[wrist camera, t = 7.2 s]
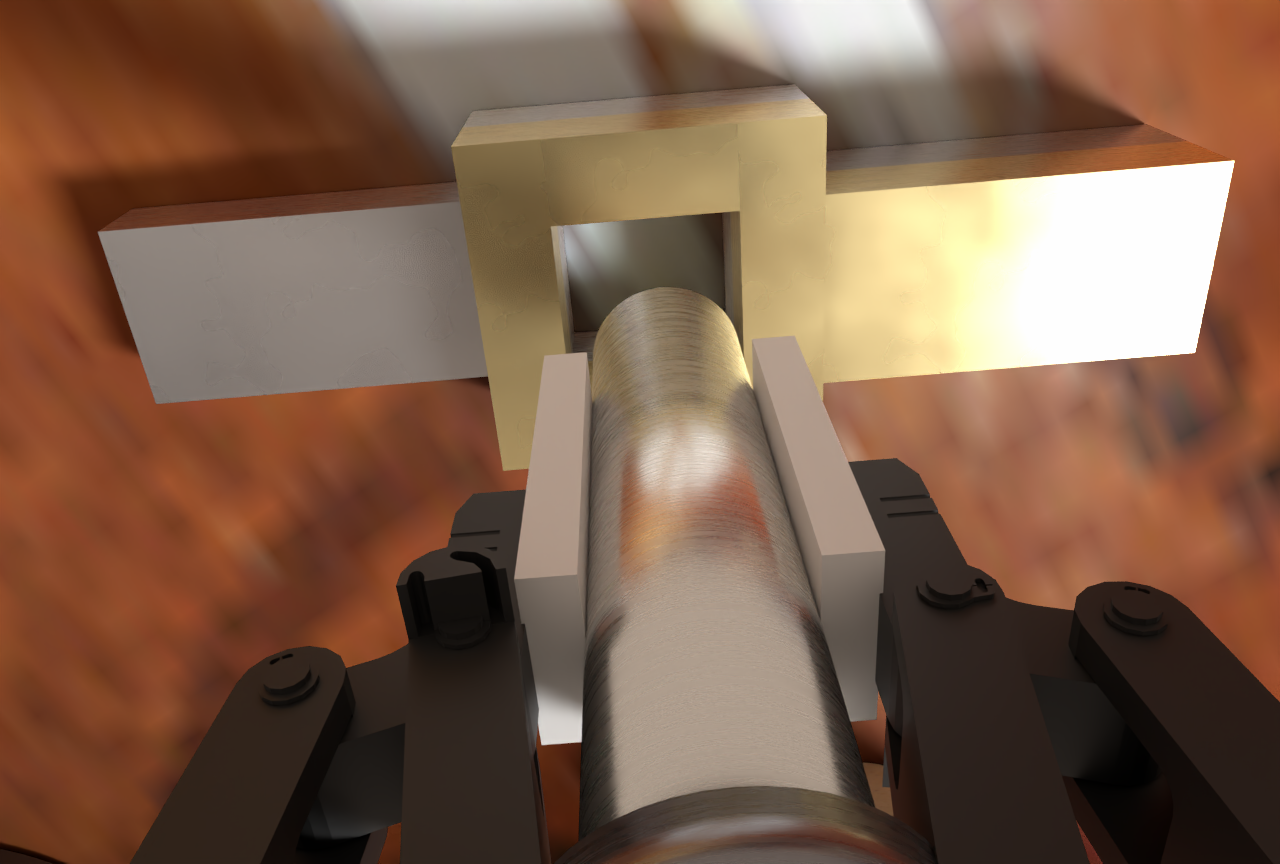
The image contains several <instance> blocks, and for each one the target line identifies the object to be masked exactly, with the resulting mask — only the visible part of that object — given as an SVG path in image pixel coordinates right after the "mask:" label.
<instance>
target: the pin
mask: <svg viewBox="0 0 1280 864" xmlns="http://www.w3.org/2000/svg"><path fill="white" fill-rule="evenodd" d="M554 864H937V862H936V858H935V853H934V849H933V846H932V845H931V844H930V843H929V842H928V841H927V840H926V839H925V838H924V837H923V836H922V835H920V834H919V833H918V832H916V831H915V830H914V829H912V828H911V827H910V826H908V825H907V824H906V823H904V822H902V821H900V820H899V819H897V818H895V817H893V816H891V815H890V814H888V813H886V812H884V811H882V810H879V809H877V808H876V807H875V804H874V800H873V797H872V794H871V790H870V787H869V783H868V780H867V777H866V773H865V770H864V766H863V763H862V760H861V756H860V753H859V749H858V746H857V742H856V739H855V736H854V732H853V729H852V725H851V722H850V719H849V715H848V712H847V708H846V705H845V702H844V698H843V695H842V691H841V688H840V685H839V681H838V678H837V674H836V671H835V668H834V664H833V661H832V657H831V654H830V651H829V647H828V644H827V640H826V637H825V634H824V630H823V627H822V623H821V620H820V616H819V613H818V610H817V606H816V603H815V599H814V596H813V593H812V589H811V586H810V582H809V579H808V576H807V572H806V569H805V565H804V562H803V559H802V555H801V552H800V548H799V545H798V542H797V538H796V535H795V531H794V528H793V525H792V521H791V518H790V514H789V511H788V508H787V504H786V501H785V497H784V494H783V490H782V487H781V484H780V480H779V477H778V473H777V470H776V467H775V463H774V460H773V456H772V453H771V450H770V446H769V443H768V439H767V436H766V433H765V429H764V426H763V422H762V419H761V416H760V412H759V409H758V405H757V402H756V399H755V395H754V392H753V388H752V385H751V382H750V378H749V375H748V371H747V368H746V364H745V361H744V358H743V354H742V351H741V347H740V344H739V341H738V337H737V334H736V331H735V329H734V326H733V324H732V323H731V321H730V319H729V317H728V316H727V315H726V314H725V312H724V311H723V310H722V309H721V308H720V307H719V306H718V305H717V304H716V303H714V302H713V301H712V300H710V299H709V298H707V297H705V296H703V295H701V294H699V293H697V292H694V291H691V290H687V289H683V288H676V287H660V288H653V289H649V290H645V291H642V292H639V293H637V294H634V295H632V296H631V297H629V298H627V299H625V300H624V301H622V302H621V303H620V304H618V305H617V306H616V307H615V308H614V309H613V310H612V311H611V312H610V313H609V314H608V316H607V317H606V318H605V320H604V321H603V323H602V325H601V326H600V328H599V331H598V333H597V336H596V339H595V343H594V350H593V375H592V433H591V468H590V503H589V538H588V573H587V608H586V641H585V649H584V675H583V708H582V741H581V775H580V808H579V841H578V843H576V844H575V845H574V846H572V847H571V848H570V849H568V850H567V851H566V852H565V853H564V854H563V855H562V856H561V857H560V858H559V859H558V860H557V861H556V862H555V863H554Z"/></svg>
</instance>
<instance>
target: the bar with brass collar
mask: <svg viewBox="0 0 1280 864" xmlns="http://www.w3.org/2000/svg"><path fill="white" fill-rule="evenodd" d="M826 146H827V115H826V114H825V113H824V112H823V111H822V110H821V109H820V108H819V107H818V106H817V105H816V104H815V103H814V102H813V101H811V100H810V99H809V98H808V97H807V96H806V95H805V94H804V93H803V92H802V91H801V90H800V89H799V88H798V87H797V86H796V85H795V84H791V85H779V86H767V87H755V88H743V89H731V90H719V91H707V92H695V93H683V94H671V95H659V96H647V97H635V98H623V99H611V100H599V101H587V102H575V103H563V104H551V105H539V106H527V107H515V108H503V109H491V110H479V111H472V112H471V114H470V116H469V117H468V119H467V121H466V122H465V124H464V126H463V127H462V129H461V131H460V133H459V134H458V136H457V138H456V139H455V141H454V143H453V144H452V146H451V149H452V156H453V162H454V168H455V174H456V180H457V182H448V183H436V184H424V185H412V186H399V187H387V188H375V189H363V190H351V191H339V192H327V193H315V194H303V195H291V196H279V197H267V198H255V199H243V200H231V201H219V202H207V203H195V204H183V205H171V206H159V207H147V208H135V209H131V210H130V211H128V212H127V213H125V214H124V215H122V216H121V217H119V218H118V219H116V220H115V221H113V222H112V223H110V224H109V225H107V226H106V227H104V228H103V229H101V230H100V231H98V234H99V237H100V240H101V243H102V246H103V249H104V252H105V255H106V258H107V261H108V264H109V267H110V270H111V273H112V276H113V278H114V281H115V284H116V287H117V290H118V293H119V296H120V299H121V302H122V305H123V308H124V311H125V314H126V317H127V320H128V323H129V325H130V328H131V331H132V334H133V337H134V340H135V343H136V346H137V349H138V352H139V355H140V358H141V361H142V364H143V367H144V370H145V372H146V375H147V378H148V381H149V384H150V387H151V390H152V393H153V396H154V399H155V402H156V404H160V403H172V402H185V401H197V400H209V399H221V398H233V397H245V396H257V395H269V394H282V393H294V392H306V391H318V390H330V389H342V388H354V387H366V386H378V385H391V384H403V383H415V382H427V381H439V380H451V379H463V378H475V377H488V379H489V385H490V391H491V397H492V403H493V410H494V416H495V422H496V428H497V434H498V441H499V447H500V453H501V459H502V465H503V471H505V470H517V469H529V465H530V458H531V451H532V443H533V436H534V428H535V421H536V414H537V406H538V399H539V391H540V384H541V377H542V369H543V362H544V356H546V355H558V354H571V353H583V352H587V358H588V367H589V377H590V386H591V395H592V375H593V350H594V343H595V339H596V336H597V333H598V331H589V332H577V333H575V332H574V323H573V314H572V305H571V297H570V288H569V279H568V270H567V261H566V253H565V244H564V235H563V226H564V225H576V224H588V223H600V222H612V221H624V220H636V219H648V218H660V217H672V216H684V215H696V214H708V213H720V212H722V220H723V248H724V276H725V304H726V315H727V316H728V317H729V319H730V321H731V323H732V324H733V326H734V329H735V331H736V334H737V337H738V341H739V344H740V347H741V351H742V354H743V358H744V361H745V364H746V368H747V371H748V375H749V378H750V382H751V385H752V388H753V364H752V339H759V338H771V337H784V336H795V338H796V340H797V342H798V345H799V347H800V350H801V352H802V354H803V357H804V359H805V361H806V364H807V366H808V368H809V371H810V373H811V376H812V378H813V380H814V383H815V385H816V387H817V390H818V392H819V395H820V397H821V399H822V402H823V383H831V382H843V381H855V380H867V379H879V378H891V377H903V376H916V375H928V374H940V373H952V372H964V371H976V370H988V369H1001V368H1013V367H1025V366H1037V365H1049V364H1061V363H1073V362H1085V361H1098V360H1110V359H1122V358H1134V357H1146V356H1158V355H1170V354H1183V353H1195V349H1196V344H1197V339H1198V335H1199V330H1200V325H1201V320H1202V315H1203V310H1204V306H1205V301H1206V296H1207V291H1208V286H1209V281H1210V276H1211V272H1212V267H1213V262H1214V257H1215V252H1216V247H1217V243H1218V238H1219V233H1220V228H1221V223H1222V218H1223V214H1224V209H1225V204H1226V199H1227V194H1228V189H1229V184H1230V180H1231V175H1232V170H1233V165H1234V160H1231V159H1229V158H1226V157H1224V156H1222V155H1219V154H1217V153H1214V152H1212V151H1210V150H1207V149H1205V148H1202V147H1200V146H1198V145H1195V144H1193V143H1190V142H1188V141H1186V140H1183V139H1181V138H1178V137H1176V136H1174V135H1171V134H1169V133H1166V132H1164V131H1161V130H1159V129H1157V128H1154V127H1152V126H1149V125H1147V124H1144V125H1132V126H1120V127H1108V128H1096V129H1084V130H1072V131H1060V132H1048V133H1036V134H1024V135H1012V136H1000V137H988V138H976V139H964V140H952V141H940V142H928V143H916V144H904V145H892V146H880V147H868V148H856V149H844V150H832V151H826Z"/></svg>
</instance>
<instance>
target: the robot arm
mask: <svg viewBox="0 0 1280 864" xmlns="http://www.w3.org/2000/svg"><path fill="white" fill-rule="evenodd" d="M752 364H753V392H754V395H755V399H756V402H757V405H758V409H759V412H760V416H761V419H762V422H763V426H764V429H765V433H766V436H767V439H768V443H769V446H770V450H771V453H772V456H773V460H774V463H775V467H776V470H777V473H778V477H779V480H780V484H781V487H782V490H783V494H784V497H785V501H786V504H787V508H788V511H789V514H790V518H791V521H792V525H793V528H794V531H795V535H796V538H797V542H798V545H799V548H800V552H801V555H802V559H803V562H804V565H805V569H806V572H807V576H808V579H809V582H810V586H811V589H812V593H813V596H814V599H815V603H816V606H817V610H818V613H819V616H820V620H821V623H822V627H823V630H824V634H825V637H826V640H827V644H828V647H829V651H830V654H831V657H832V661H833V664H834V668H835V671H836V674H837V678H838V681H839V685H840V688H841V691H842V695H843V698H844V702H845V705H846V708H847V712H848V715H849V719H850V722H851V721H864V720H876V719H877V700H878V691H879V694H880V697H881V700H882V703H883V706H884V709H885V712H886V732H885V749H884V766H883V783H882V787H890V791H891V799H892V807H893V815H894V817H895V818H897V819H899V820H900V821H902V822H904V823H906V824H907V825H908V826H910V827H911V828H912V829H914V830H915V831H916V832H918V833H919V834H920V835H922V836H923V837H924V838H925V839H926V840H927V841H928V842H929V843H930V844H931V845H932V846H933V849H934V853H935V858H936V862H937V864H1090V863H1089V860H1088V857H1087V854H1086V851H1085V847H1084V844H1083V841H1082V838H1081V835H1080V832H1079V828H1078V825H1077V822H1078V824H1079V825H1080V827H1081V829H1082V830H1083V832H1084V833H1085V835H1086V837H1087V838H1088V840H1089V841H1090V843H1091V845H1092V846H1093V848H1094V849H1095V851H1096V853H1097V854H1098V856H1099V857H1100V859H1101V861H1102V862H1103V864H1280V702H1279V701H1278V700H1277V699H1276V698H1275V697H1274V696H1273V695H1272V694H1271V693H1270V692H1269V691H1268V690H1267V689H1266V688H1265V687H1264V686H1263V685H1262V684H1261V682H1260V681H1259V680H1258V679H1257V678H1256V677H1255V676H1254V675H1253V674H1252V673H1251V672H1250V671H1249V670H1248V669H1247V668H1246V667H1245V666H1244V665H1243V664H1242V663H1241V662H1240V661H1239V660H1238V659H1237V658H1236V657H1235V656H1234V655H1233V654H1232V653H1231V651H1230V650H1229V649H1228V648H1227V647H1226V646H1225V645H1224V644H1223V643H1222V642H1221V641H1220V640H1219V639H1218V638H1217V637H1216V636H1215V635H1214V634H1213V633H1212V632H1211V631H1210V630H1209V629H1208V628H1207V627H1206V626H1205V625H1204V624H1203V623H1202V622H1201V620H1200V619H1199V618H1198V617H1197V616H1196V615H1195V614H1194V613H1193V612H1192V611H1191V610H1190V609H1189V608H1188V607H1186V606H1185V605H1184V604H1182V603H1181V602H1180V601H1178V600H1177V599H1176V598H1174V597H1173V596H1172V595H1170V594H1167V593H1165V592H1163V591H1160V590H1158V589H1155V588H1153V587H1151V586H1146V585H1141V584H1137V583H1132V582H1103V583H1100V584H1096V585H1093V586H1089V587H1087V588H1086V589H1085V590H1084V591H1082V592H1081V593H1080V594H1079V595H1078V596H1077V598H1076V603H1075V608H1074V611H1073V610H1065V609H1058V608H1050V607H1043V606H1036V605H1031V604H1026V603H1021V602H1017V601H1014V600H1011V599H1009V598H1006V597H1005V595H1004V592H1003V591H1002V589H1001V588H1000V586H999V585H998V583H997V582H996V580H995V579H993V578H992V577H990V576H989V575H988V574H986V573H985V572H983V571H982V570H980V569H977V568H974V567H972V566H969V565H967V563H966V561H965V559H964V557H963V556H962V554H961V552H960V550H959V548H958V546H957V544H956V542H955V541H954V539H953V537H952V535H951V533H950V531H949V529H948V528H947V526H946V524H945V522H944V520H943V518H942V516H941V514H938V509H937V507H936V505H935V503H934V501H933V500H932V498H930V494H929V492H928V490H927V488H926V486H925V485H924V483H923V481H922V479H921V477H920V475H919V474H918V473H916V472H915V471H913V470H912V469H911V468H909V467H908V466H906V465H905V464H904V463H902V462H901V461H899V460H898V459H897V458H894V459H881V460H868V461H856V462H848V461H847V458H846V456H845V454H844V451H843V449H842V447H841V444H840V442H839V440H838V437H837V435H836V432H835V430H834V428H833V425H832V423H831V421H830V418H829V416H828V413H827V411H826V409H825V406H824V404H823V402H822V399H821V397H820V395H819V392H818V390H817V387H816V385H815V383H814V380H813V378H812V376H811V373H810V371H809V368H808V366H807V364H806V361H805V359H804V357H803V354H802V352H801V350H800V347H799V345H798V342H797V340H796V338H795V336H784V337H771V338H759V339H752ZM591 433H592V395H591V386H590V377H589V367H588V358H587V352H583V353H571V354H558V355H546V356H544V362H543V369H542V377H541V384H540V391H539V399H538V406H537V414H536V421H535V428H534V436H533V443H532V451H531V458H530V465H529V473H528V480H527V488H526V490H516V491H503V492H491V493H478V494H473V495H472V496H471V497H470V498H469V499H468V500H467V501H466V502H465V504H464V505H463V506H462V507H461V508H460V509H459V510H458V511H457V512H456V514H455V518H454V522H453V526H452V530H451V538H449V542H448V547H446V548H443V549H439V550H435V551H432V552H429V553H427V554H425V555H424V556H422V557H420V558H418V559H416V560H414V561H413V562H412V563H411V564H410V565H409V566H408V567H407V568H406V569H404V570H403V571H402V572H401V574H400V577H399V579H398V582H397V585H396V588H397V592H398V596H399V601H400V605H401V609H402V613H403V617H404V622H405V626H406V630H407V634H408V639H409V643H408V644H407V645H406V646H404V647H402V648H400V649H399V650H397V651H395V652H393V653H391V654H388V655H386V656H383V657H381V658H378V659H375V660H372V661H369V662H365V663H362V664H359V665H355V666H352V667H349V668H346V667H345V665H344V663H343V661H342V658H341V656H339V655H338V654H336V653H334V652H332V651H331V650H329V649H327V648H319V647H312V646H307V647H300V648H293V649H287V650H285V651H282V652H279V653H277V654H274V655H271V656H269V657H267V658H265V659H264V660H262V661H261V662H259V663H258V664H256V665H255V666H253V667H252V668H250V669H249V670H248V671H247V672H246V673H245V674H244V675H243V677H242V678H241V679H240V680H239V681H238V682H237V684H236V685H235V687H234V688H233V690H232V692H231V693H230V695H229V697H228V699H227V700H226V702H225V704H224V705H223V707H222V709H221V710H220V712H219V714H218V715H217V717H216V719H215V721H214V722H213V724H212V726H211V727H210V729H209V731H208V732H207V734H206V736H205V737H204V739H203V741H202V742H201V744H200V746H199V748H198V749H197V751H196V753H195V754H194V756H193V758H192V759H191V761H190V763H189V764H188V766H187V768H186V769H185V771H184V773H183V775H182V776H181V778H180V780H179V781H178V783H177V785H176V786H175V788H174V790H173V791H172V793H171V795H170V796H169V798H168V800H167V802H166V803H165V805H164V807H163V808H162V810H161V812H160V813H159V815H158V817H157V818H156V820H155V822H154V823H153V825H152V827H151V829H150V830H149V832H148V834H147V835H146V837H145V839H144V840H143V842H142V844H141V845H140V847H139V849H138V850H137V852H136V854H135V856H134V857H133V859H132V861H131V862H130V864H377V863H378V860H379V857H380V854H381V851H382V848H383V846H384V843H385V840H386V837H387V830H388V826H391V825H394V824H397V823H400V822H402V824H401V849H400V864H551V856H550V847H549V839H548V831H547V822H546V814H545V806H544V797H543V789H542V780H541V772H540V766H539V760H538V754H537V748H536V740H537V728H538V726H539V732H540V738H541V744H542V745H549V744H562V743H575V742H581V741H582V708H583V675H584V649H585V641H586V608H587V573H588V538H589V503H590V468H591ZM1076 820H1077V822H1076ZM0 864H52V863H49V862H46V861H43V860H40V859H37V858H34V857H30V856H27V855H23V854H20V853H16V852H11V851H7V850H3V849H0Z"/></svg>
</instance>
